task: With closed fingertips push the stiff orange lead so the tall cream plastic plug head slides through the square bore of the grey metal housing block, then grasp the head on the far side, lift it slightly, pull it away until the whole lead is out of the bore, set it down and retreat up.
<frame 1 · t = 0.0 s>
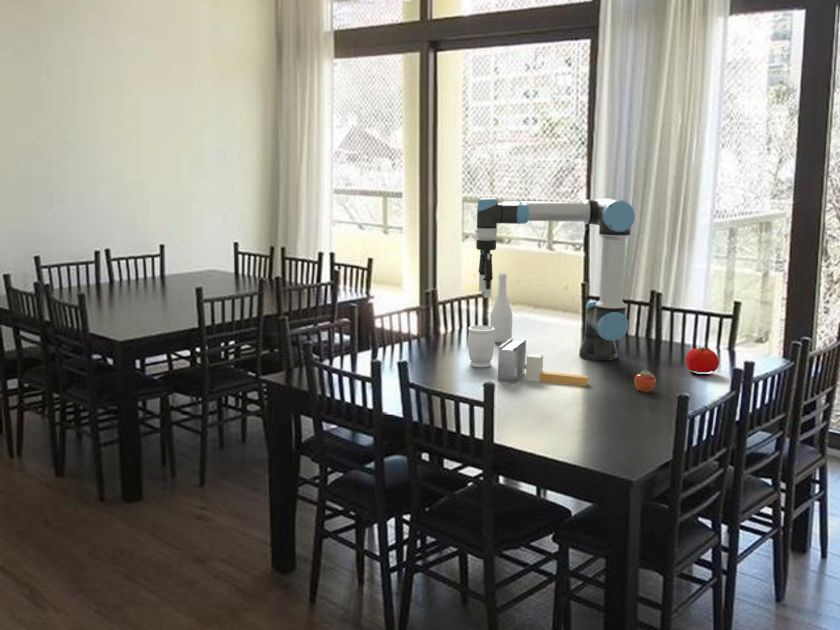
hand: (484, 294, 335), 28 cm above the table, fingers open, 13 cm apart
plug: (533, 379, 321), on the table
jar: (480, 365, 341), on the table
wine bottle: (500, 341, 384), on the table
housing: (511, 376, 324), on the table
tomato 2: (644, 391, 308), on the table
tomato: (700, 374, 332), on the table
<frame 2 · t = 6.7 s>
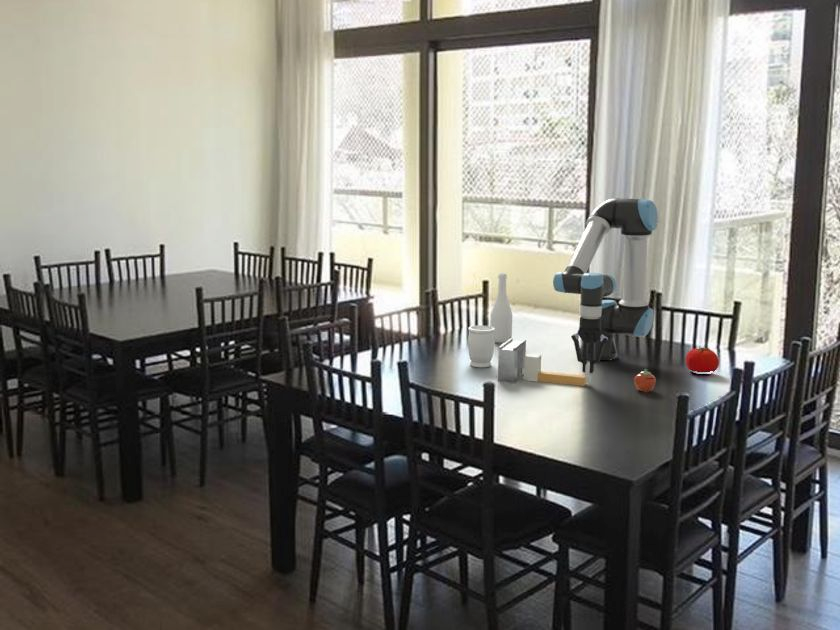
hand: (587, 381, 314), 1 cm above the table, fingers closed
plug: (532, 379, 321), on the table, touching gripper
everything else where it was.
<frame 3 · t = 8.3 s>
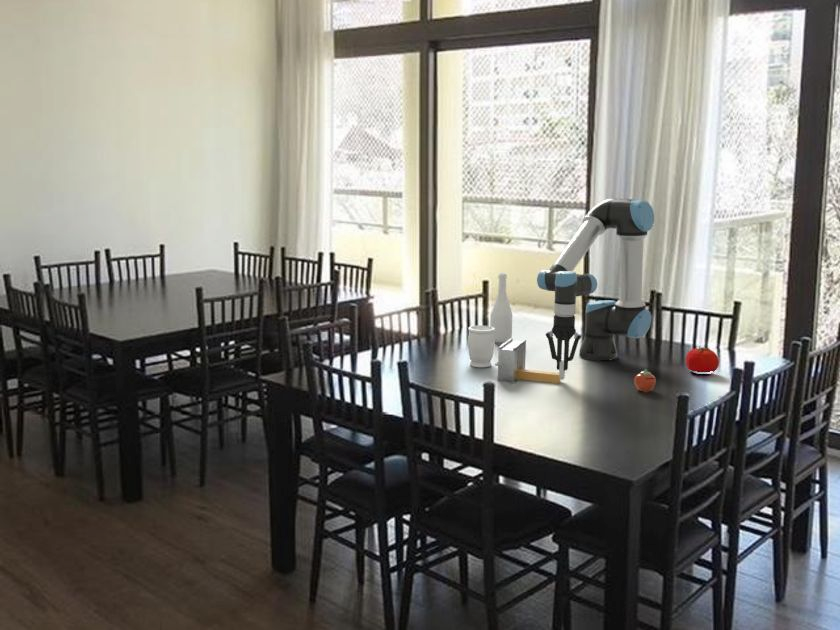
hand: (561, 378, 317), 1 cm above the table, fingers closed
plug: (507, 376, 324), on the table, touching gripper
everything else where it was.
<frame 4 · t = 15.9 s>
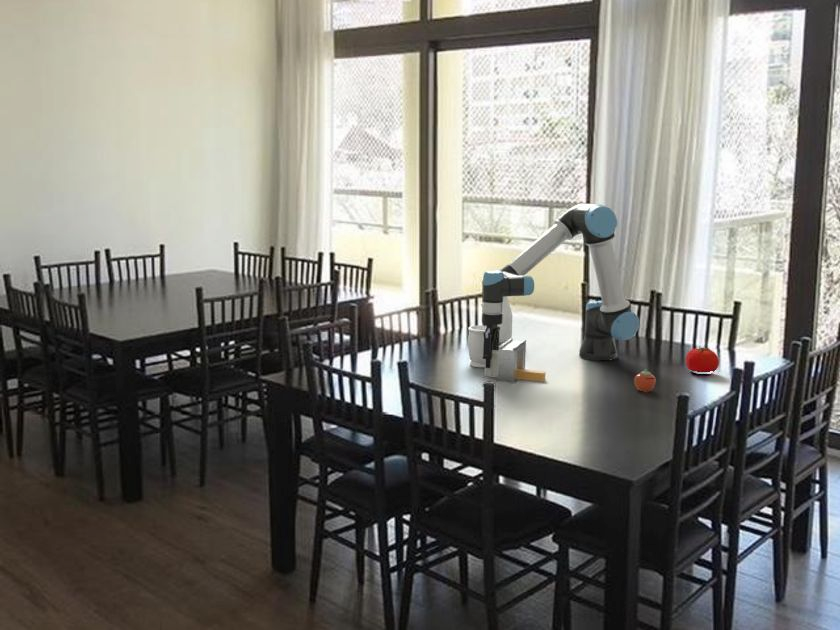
hand: (490, 373, 327), 0 cm above the table, fingers closed on plug, 5 cm apart
plug: (492, 375, 326), on the table, touching gripper
everything else where it was.
when the fingers open (1 cm above the table, at t = 21.1 s): plug stays where it is, on the table.
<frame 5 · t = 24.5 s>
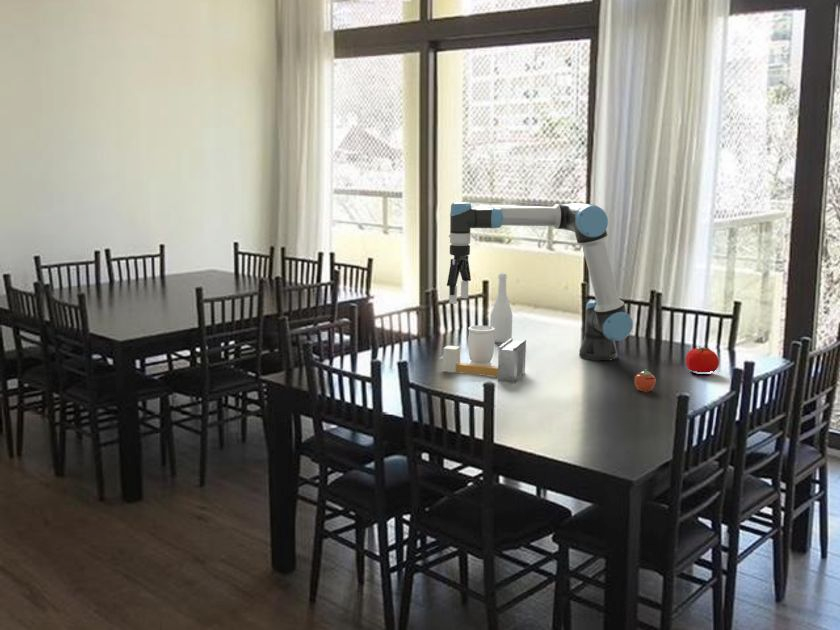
hand: (458, 300, 328), 27 cm above the table, fingers open, 13 cm apart
plug: (451, 370, 332), on the table
everything else where it was.
at the end: plug inside the target area on the table beside the housing (0.7 cm from its centre), on the table; plug touching table; the gripper is holding nothing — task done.
